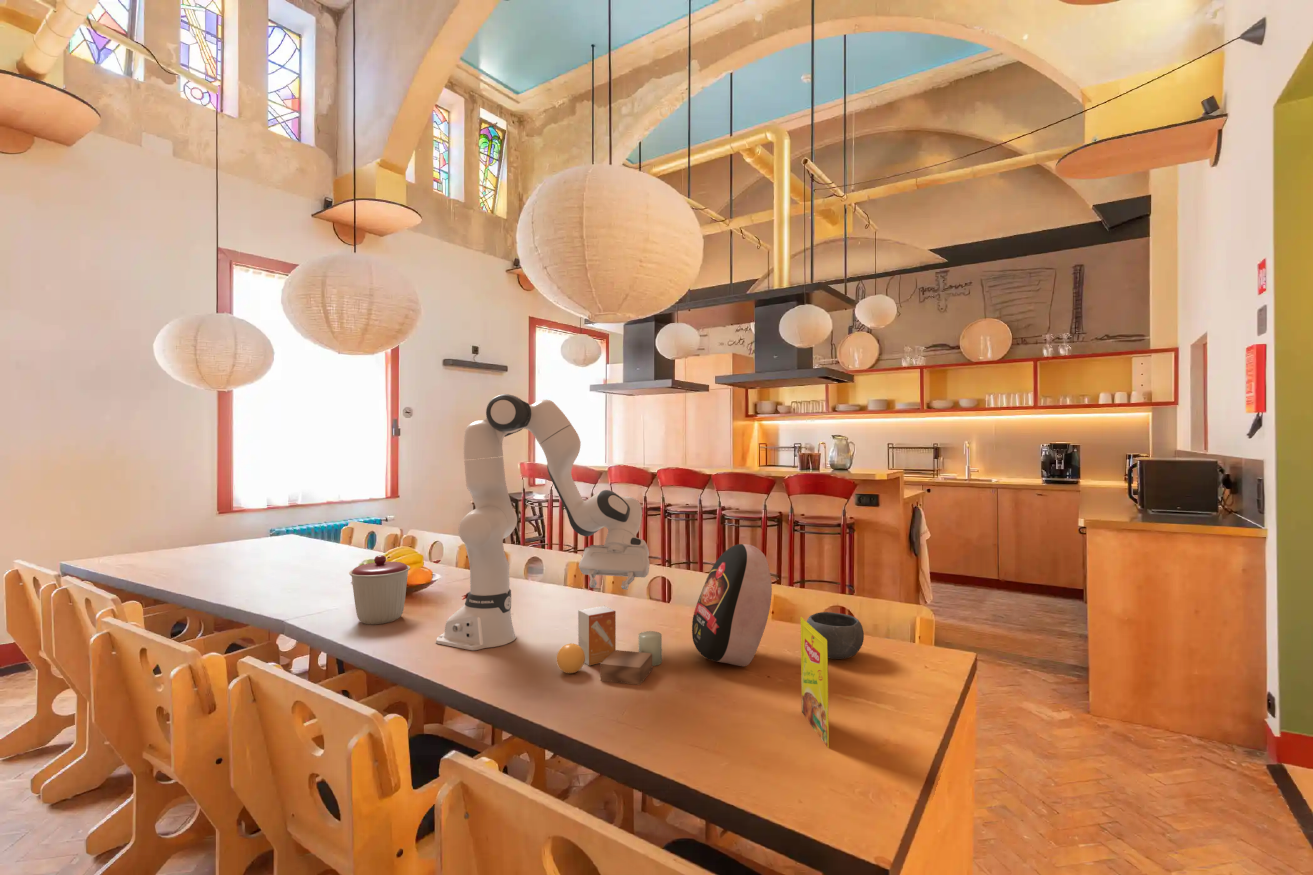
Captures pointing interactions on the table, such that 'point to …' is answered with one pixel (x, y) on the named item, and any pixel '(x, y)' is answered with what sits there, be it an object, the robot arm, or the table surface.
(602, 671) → the brown block
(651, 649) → the pale green cylinder
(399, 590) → the canister
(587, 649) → the small box
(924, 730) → the table surface
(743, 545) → the packaged food
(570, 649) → the orange
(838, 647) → the bowl
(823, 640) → the food package
